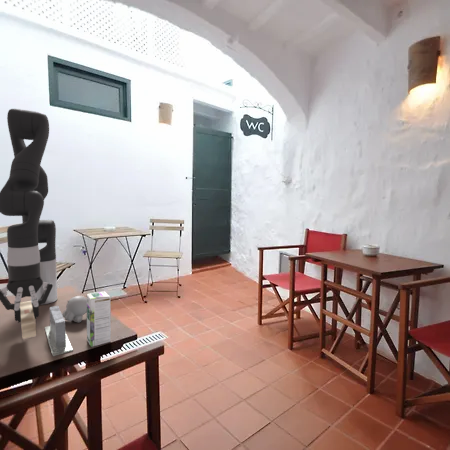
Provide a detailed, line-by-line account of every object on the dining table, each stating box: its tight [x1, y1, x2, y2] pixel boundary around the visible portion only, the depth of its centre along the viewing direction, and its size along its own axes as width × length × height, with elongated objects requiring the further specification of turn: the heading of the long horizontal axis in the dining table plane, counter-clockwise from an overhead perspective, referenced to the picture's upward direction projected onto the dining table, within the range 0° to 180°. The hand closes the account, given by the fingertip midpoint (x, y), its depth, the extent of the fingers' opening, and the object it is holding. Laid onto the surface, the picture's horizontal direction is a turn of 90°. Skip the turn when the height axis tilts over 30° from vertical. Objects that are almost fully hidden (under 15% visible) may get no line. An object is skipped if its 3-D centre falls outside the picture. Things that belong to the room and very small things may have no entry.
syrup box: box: [86, 291, 112, 348], centre depth 88 cm, size 6×6×14 cm
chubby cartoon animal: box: [62, 295, 87, 323], centre depth 103 cm, size 7×12×8 cm, turn 129°
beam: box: [20, 300, 37, 340], centre depth 84 cm, size 18×3×4 cm, turn 37°
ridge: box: [44, 305, 74, 357], centre depth 89 cm, size 20×5×8 cm, turn 37°
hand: (27, 319), depth 84 cm, fingers closed on beam, 3 cm apart
